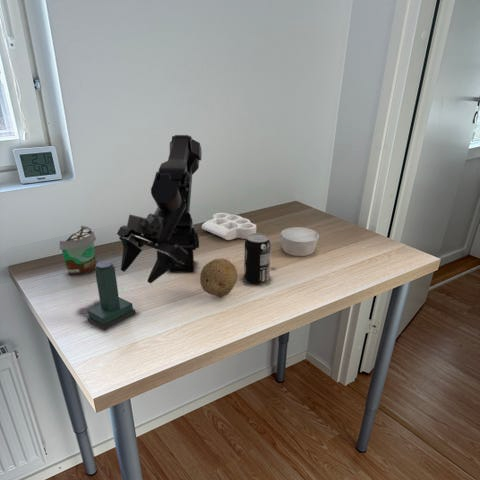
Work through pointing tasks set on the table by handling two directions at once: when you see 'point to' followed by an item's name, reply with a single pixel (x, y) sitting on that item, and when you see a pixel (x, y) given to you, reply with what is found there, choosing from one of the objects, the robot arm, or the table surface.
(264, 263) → the beverage can
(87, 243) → the food container
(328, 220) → the table surface
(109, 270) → the wiper
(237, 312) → the table surface
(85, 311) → the coffee spill
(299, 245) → the ramekin
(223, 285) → the natural sponge
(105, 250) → the table surface
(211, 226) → the white egg tray
